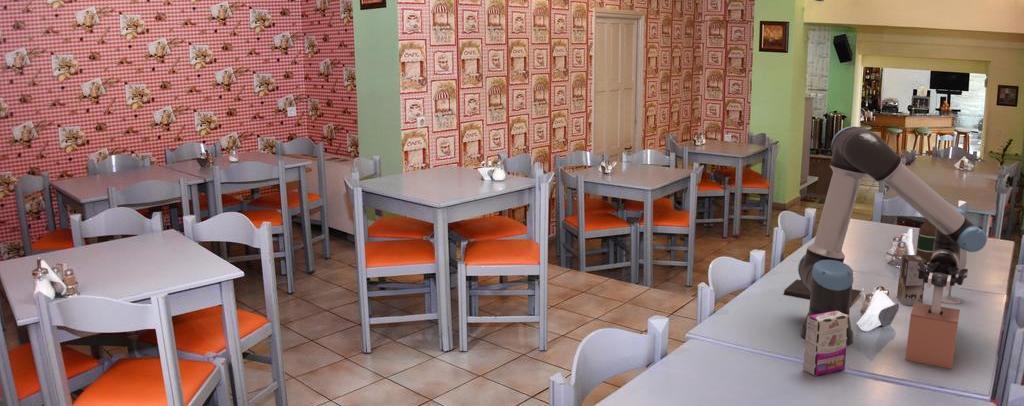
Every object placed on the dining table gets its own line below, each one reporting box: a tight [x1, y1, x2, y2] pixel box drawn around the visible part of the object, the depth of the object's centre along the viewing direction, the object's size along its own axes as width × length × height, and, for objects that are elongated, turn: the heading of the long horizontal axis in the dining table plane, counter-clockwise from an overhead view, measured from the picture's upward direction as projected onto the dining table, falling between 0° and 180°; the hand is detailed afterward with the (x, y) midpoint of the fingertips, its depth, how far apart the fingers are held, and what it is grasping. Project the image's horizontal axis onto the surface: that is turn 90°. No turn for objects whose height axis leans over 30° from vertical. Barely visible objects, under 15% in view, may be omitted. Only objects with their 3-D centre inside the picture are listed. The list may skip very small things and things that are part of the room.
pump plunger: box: [931, 272, 948, 314], centre depth 232 cm, size 8×4×22 cm, turn 149°
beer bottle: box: [915, 218, 936, 263], centre depth 334 cm, size 8×8×24 cm
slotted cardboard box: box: [905, 302, 961, 369], centre depth 235 cm, size 12×12×14 cm
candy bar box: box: [802, 311, 850, 377], centre depth 225 cm, size 11×5×16 cm, turn 114°
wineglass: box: [942, 249, 967, 305], centre depth 284 cm, size 8×8×21 cm
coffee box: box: [896, 254, 929, 306], centre depth 283 cm, size 9×6×16 cm
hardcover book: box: [783, 278, 862, 308], centre depth 291 cm, size 16×23×2 cm
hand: (938, 284), depth 227 cm, fingers closed on pump plunger, 4 cm apart
